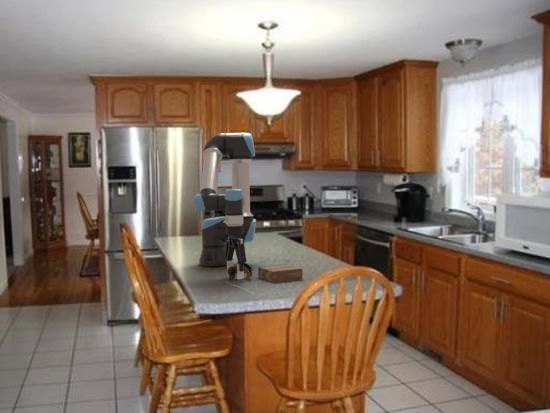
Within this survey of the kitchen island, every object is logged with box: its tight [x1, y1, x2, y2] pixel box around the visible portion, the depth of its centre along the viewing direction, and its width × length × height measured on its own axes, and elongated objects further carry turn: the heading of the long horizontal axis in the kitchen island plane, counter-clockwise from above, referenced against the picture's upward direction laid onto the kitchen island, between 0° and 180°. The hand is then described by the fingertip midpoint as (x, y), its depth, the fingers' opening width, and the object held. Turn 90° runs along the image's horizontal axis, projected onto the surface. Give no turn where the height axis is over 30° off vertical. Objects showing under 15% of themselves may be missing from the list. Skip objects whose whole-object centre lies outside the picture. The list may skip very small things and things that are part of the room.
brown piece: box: [226, 262, 254, 281], centre depth 240 cm, size 12×9×8 cm
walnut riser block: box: [257, 264, 303, 284], centre depth 242 cm, size 14×14×5 cm
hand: (235, 277), depth 241 cm, fingers closed on brown piece, 9 cm apart
